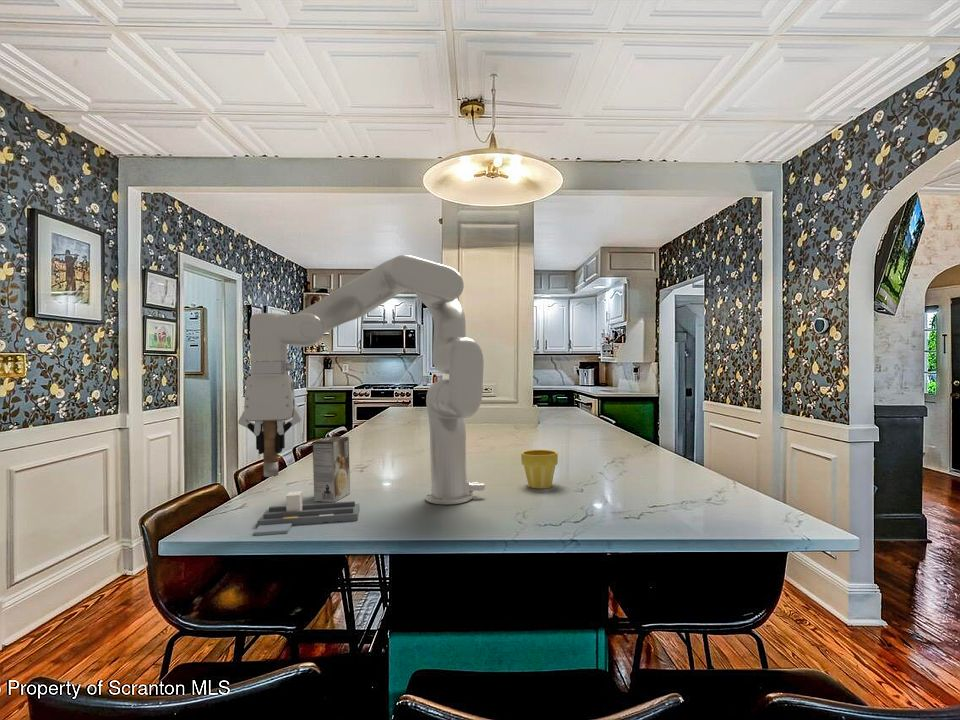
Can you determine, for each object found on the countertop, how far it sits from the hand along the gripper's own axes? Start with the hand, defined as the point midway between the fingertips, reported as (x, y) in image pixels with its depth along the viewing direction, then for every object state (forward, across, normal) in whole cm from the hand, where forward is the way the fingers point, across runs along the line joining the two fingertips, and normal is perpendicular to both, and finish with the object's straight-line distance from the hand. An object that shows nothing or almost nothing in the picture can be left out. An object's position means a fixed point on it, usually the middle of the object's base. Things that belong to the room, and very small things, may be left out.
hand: (270, 451), depth 116 cm
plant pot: (+17, -68, -24) cm, 74 cm away
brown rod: (+5, 0, 0) cm, 5 cm away
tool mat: (+17, 0, 0) cm, 18 cm away
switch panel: (+17, -7, -8) cm, 20 cm away
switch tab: (+16, -3, -8) cm, 18 cm away
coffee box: (+18, -10, -26) cm, 33 cm away
